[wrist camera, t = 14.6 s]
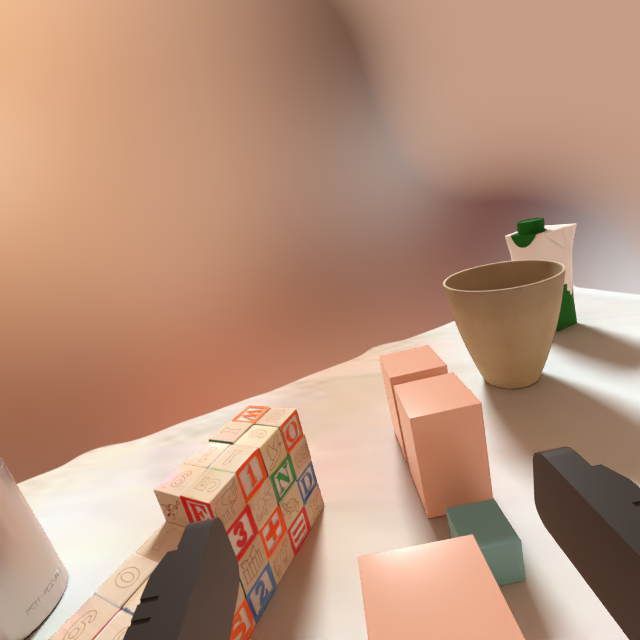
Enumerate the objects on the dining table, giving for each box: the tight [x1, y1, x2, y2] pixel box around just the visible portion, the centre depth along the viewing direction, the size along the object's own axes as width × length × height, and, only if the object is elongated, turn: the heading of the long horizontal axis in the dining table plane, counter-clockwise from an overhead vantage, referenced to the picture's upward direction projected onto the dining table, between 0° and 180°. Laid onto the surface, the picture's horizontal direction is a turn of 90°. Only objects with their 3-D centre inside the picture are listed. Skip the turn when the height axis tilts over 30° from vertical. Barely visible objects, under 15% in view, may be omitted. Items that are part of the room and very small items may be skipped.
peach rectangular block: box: [379, 345, 448, 462], centre depth 42 cm, size 6×6×11 cm
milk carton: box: [505, 218, 577, 332], centre depth 64 cm, size 9×9×20 cm
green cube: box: [446, 498, 525, 586], centre depth 28 cm, size 4×4×4 cm
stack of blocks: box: [49, 406, 324, 640], centre depth 29 cm, size 21×6×12 cm, turn 152°
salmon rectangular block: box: [394, 372, 493, 519], centre depth 34 cm, size 6×6×11 cm
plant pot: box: [443, 260, 566, 389], centre depth 50 cm, size 15×15×16 cm
